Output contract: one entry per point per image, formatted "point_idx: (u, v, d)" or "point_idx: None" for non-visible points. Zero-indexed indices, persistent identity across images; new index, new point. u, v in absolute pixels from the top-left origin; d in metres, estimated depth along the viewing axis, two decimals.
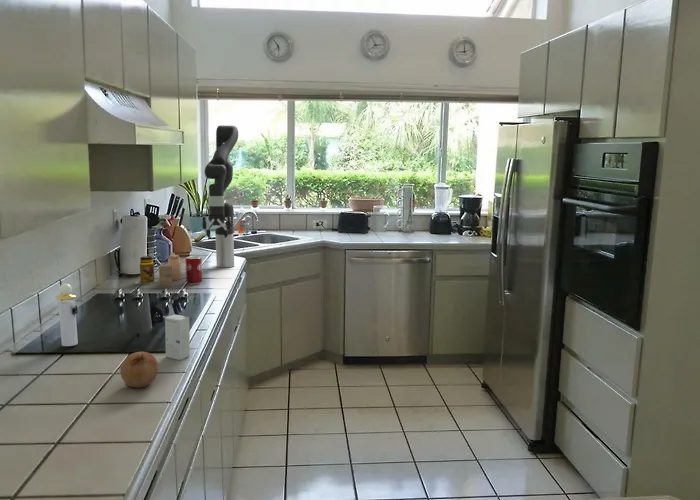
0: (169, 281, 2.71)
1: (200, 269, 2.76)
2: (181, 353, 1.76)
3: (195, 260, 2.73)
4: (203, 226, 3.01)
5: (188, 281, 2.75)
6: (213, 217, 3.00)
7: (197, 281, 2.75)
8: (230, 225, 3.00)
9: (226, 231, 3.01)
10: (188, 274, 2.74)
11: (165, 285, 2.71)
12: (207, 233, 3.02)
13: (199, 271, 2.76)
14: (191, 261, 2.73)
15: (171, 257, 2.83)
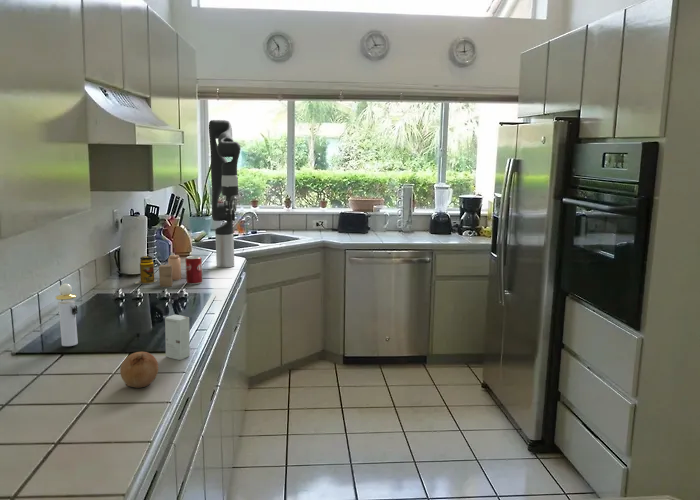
0: (169, 281, 2.71)
1: (200, 269, 2.76)
2: (181, 353, 1.76)
3: (195, 260, 2.73)
4: (230, 210, 2.78)
5: (188, 281, 2.75)
6: (231, 198, 2.80)
7: (197, 281, 2.75)
8: (235, 207, 2.88)
9: None
10: (188, 274, 2.74)
11: (165, 285, 2.71)
12: (230, 218, 2.80)
13: (199, 271, 2.76)
14: (191, 261, 2.73)
15: (171, 257, 2.83)
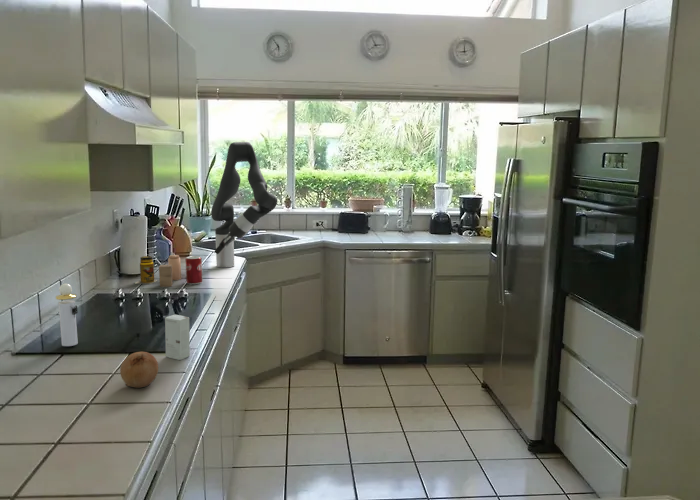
0: (169, 281, 2.71)
1: (200, 269, 2.76)
2: (181, 353, 1.76)
3: (195, 260, 2.73)
4: (224, 247, 2.71)
5: (188, 281, 2.75)
6: (233, 237, 2.72)
7: (197, 281, 2.75)
8: None
9: None
10: (188, 274, 2.74)
11: (165, 285, 2.71)
12: (219, 250, 2.74)
13: (199, 271, 2.76)
14: (191, 261, 2.73)
15: (171, 257, 2.83)
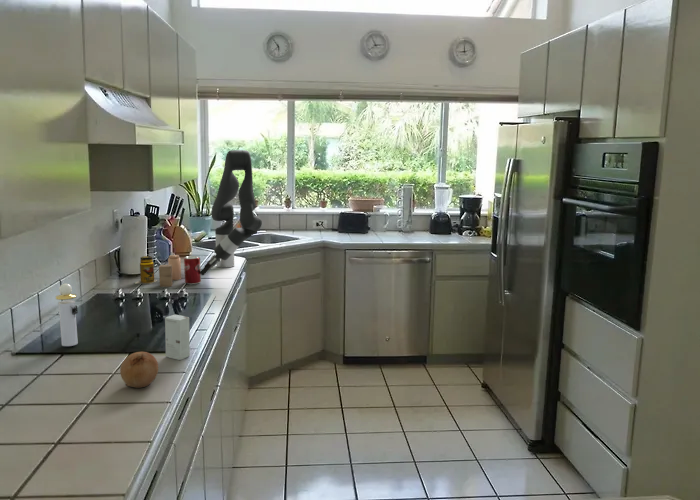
0: (169, 281, 2.71)
1: (198, 269, 2.76)
2: (181, 353, 1.76)
3: (193, 260, 2.73)
4: (209, 268, 2.74)
5: (186, 281, 2.75)
6: (218, 259, 2.74)
7: (195, 281, 2.75)
8: None
9: None
10: (186, 274, 2.74)
11: (165, 285, 2.71)
12: (205, 272, 2.76)
13: (198, 271, 2.76)
14: (189, 261, 2.73)
15: (171, 257, 2.83)
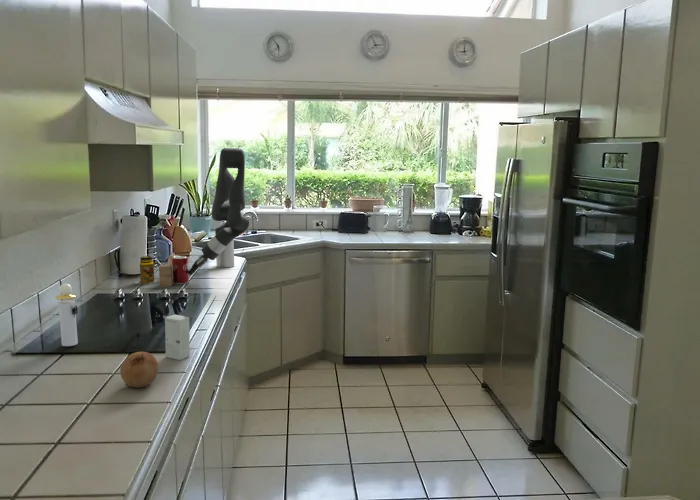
0: (169, 281, 2.71)
1: (186, 269, 2.76)
2: (181, 353, 1.76)
3: (181, 260, 2.74)
4: (196, 268, 2.74)
5: (174, 281, 2.75)
6: (206, 259, 2.75)
7: (183, 281, 2.75)
8: None
9: None
10: (174, 274, 2.75)
11: (165, 285, 2.71)
12: (192, 272, 2.76)
13: (185, 271, 2.76)
14: (177, 261, 2.73)
15: (171, 257, 2.83)
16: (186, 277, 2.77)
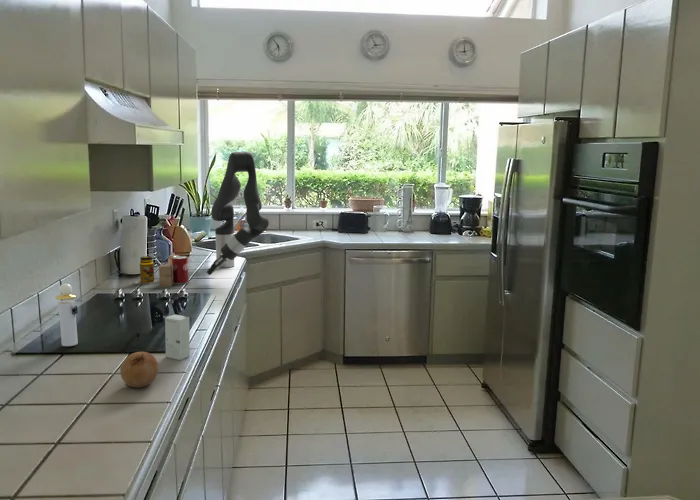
0: (169, 281, 2.71)
1: (186, 269, 2.76)
2: (181, 353, 1.76)
3: (181, 260, 2.74)
4: (216, 268, 2.73)
5: (174, 281, 2.76)
6: None
7: (183, 281, 2.75)
8: None
9: None
10: (174, 274, 2.75)
11: (165, 285, 2.71)
12: (211, 271, 2.76)
13: (185, 271, 2.76)
14: (177, 261, 2.73)
15: (171, 257, 2.83)
16: (186, 277, 2.77)
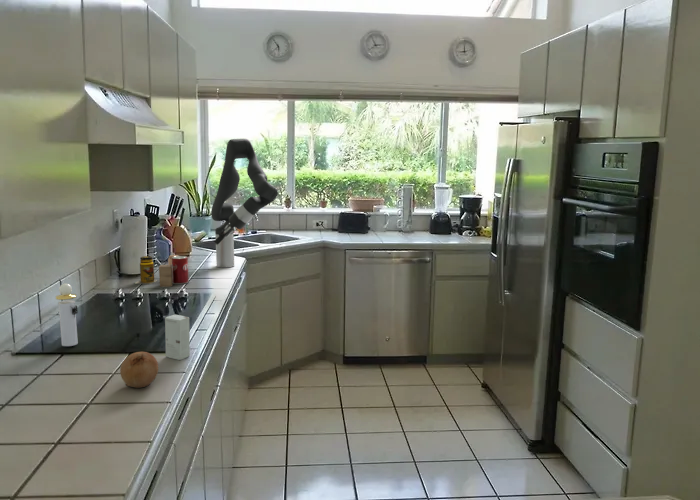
0: (169, 281, 2.71)
1: (186, 269, 2.76)
2: (181, 353, 1.76)
3: (181, 260, 2.74)
4: (224, 237, 2.71)
5: (174, 281, 2.76)
6: (233, 228, 2.71)
7: (183, 281, 2.75)
8: None
9: None
10: (174, 274, 2.75)
11: (165, 285, 2.71)
12: (219, 241, 2.73)
13: (185, 271, 2.76)
14: (177, 261, 2.73)
15: (171, 257, 2.83)
16: (186, 277, 2.77)
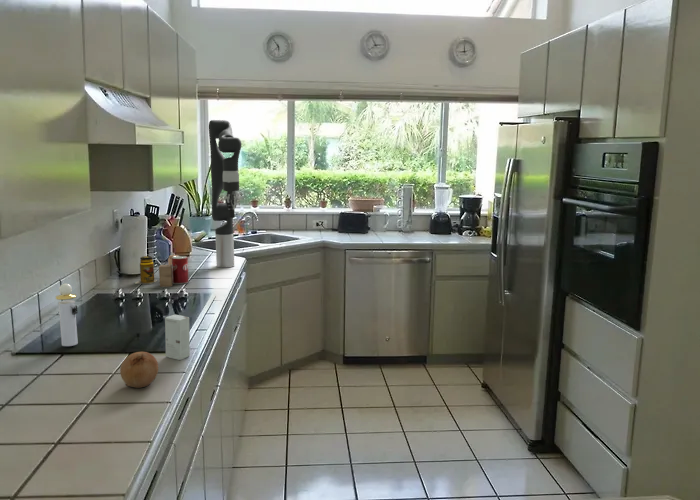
0: (169, 281, 2.71)
1: (186, 269, 2.76)
2: (181, 353, 1.76)
3: (181, 260, 2.74)
4: (232, 206, 2.81)
5: (174, 281, 2.76)
6: (232, 193, 2.82)
7: (183, 281, 2.75)
8: (235, 205, 2.88)
9: None
10: (174, 274, 2.75)
11: (165, 285, 2.71)
12: (232, 213, 2.84)
13: (185, 271, 2.76)
14: (177, 261, 2.73)
15: (171, 257, 2.83)
16: (186, 277, 2.77)
